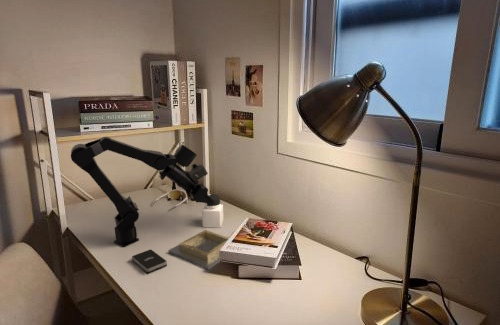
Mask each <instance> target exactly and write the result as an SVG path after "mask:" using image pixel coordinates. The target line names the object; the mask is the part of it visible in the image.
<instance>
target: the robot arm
mask: <svg viewBox="0 0 500 325" xmlns="http://www.w3.org/2000/svg"><path fill="white" fill-rule="evenodd" d="M107 151H109V152H113V153H116V154H118V155H122V156H124V157H128V158H132V159H134V160H137V161H140V162H142V163H144V164H145V165H147V166H148V167H151V168H152V169H155V170H156V171H158V175H159V176H158V177H159V178H160V179H161V181H163V180H164V179H165V178H167V179H169V180H170V181H172V182H173V183H174V184H176V185H177V187H179V188H181V190H183V191H185V192H186V194H190V198H191V199H192V200H193V201H194V202H196V204H197V203H198V204H199V203H203V204H205V203H208V204H213V203H214V201H213V200H212V199H211V198H210V196H209V194H208V192H209V188H208V187H206V186H205V185H204V184H203V183H199V182H200V179H202V178H203V177H206V176H208V171H207V169H206V168H205V166H204V165H203V164H196V163H192V162H193V161H194V160H195V159H196V158H197V157H198V155H197V154H196V153H195V152H194V151H193V150H192V149H190V148H189V147H188V146H186V145H184V144H183V143H182V144H181V145H180V146H179V148H178V149H177V150H176V151H175V153H174V154H172V153H171V154H170V153H163V152H161V151H157V150H150V149H143V148H140V147H138V146H133V145H132V144H131V145H130V144H128V143H125V142H122V141H120V140H116V139H113V138H111V137H109V136H103V137H100V138H98V139H96V140H93V141H90V142H87V143H78V144H75V145H74V146H73V147H72V148H71V151H70V159H71V161H72V162H73V163H74V164H75V165H76V166H77V167H79V168H80V169H81V170H83V172H85V173H87V174H88V175H90V177H91V179H92V180H93V181H94V183H96V185H97V186H98V187H99V188H100V190H102V192H103V193H104V194H105V195H106V196H107V198H108V199H109V200H110V201H111V202H112V204H113V205H114V207H115V208H116V210H117V214H116V215H115V216H114V222H115V227H114V235H115V236H114V237H115V240H113V243H114V244H116V245H117V246H121V247H124V248H125V247H128V246H130V245H131V244H134V243H137V242H138V241H140V238H139V237H138V233H137V232H138V231H137V226H136V222H137V221H138V220H139V216H140V214H139V212H138V211H139V208H138V205H137V203H136V202H134V201H133V199H132V197H131V196H128V197H125V196H124V195H122V193H121V192H120V191H119V190H118V189H117V187H116V185H114V183H113V182H112V181H111V179H110V178H109V177H108V175H106V173H105V172H104V171H103V169H101V167H100V166H99V164H98V162H97V161H96V158H95V157H98V156H99V155H101V154H102V153H104V152H107ZM178 164H179V165H180V166H181V167H180V166H179V165H178ZM189 166H191V169H190V171H187V170H184V169H183V168H187V167H189Z"/></svg>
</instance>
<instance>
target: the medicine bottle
mask: <svg viewBox="0 0 500 325" xmlns="http://www.w3.org/2000/svg"><path fill="white" fill-rule="evenodd" d="M208 195H209V196H210V198H211V199H212V200H213V201H214V203H213V204H208V203H204V207H203V208H202V210H201V216H202V217H201V218H202V227H203V228H218V229H219V228H222V225H223V223H224V204H221V196H220V195H219V194H216V193H209V194H208Z"/></svg>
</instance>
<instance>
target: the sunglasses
mask: <svg viewBox="0 0 500 325" xmlns="http://www.w3.org/2000/svg"><path fill="white" fill-rule="evenodd" d="M165 196H167V197H168V199H169V198H171V199H170V200H172V199H173V200H181V199H182V200H181V201H180V202H179V203H177V204H175V205H174V206H172V207H171V208H169V209H167V210H166V212H170V211H171V210H173V209H175V208H176V207H179V206H180V205H181V204H182V203H184V202H186V204H188V202H189V200H188V199H189V198H188V193H187V192H186V191H185V190H184V189H172V190H168V192H165V193H164V194H162V195H161V196H158V197H157V198H156V199H155V200H154V201H153V202H152V204H151V207H153V206H154V205H155V203H156V202H157V201H158V200H160V199H161V198H162V197H165Z"/></svg>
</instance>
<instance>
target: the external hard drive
mask: <svg viewBox="0 0 500 325" xmlns="http://www.w3.org/2000/svg"><path fill="white" fill-rule="evenodd" d="M131 261H132V263H134V264H135V265H136V266H138V267H139V269H141V270H142V271H143V272H144V273H145V274H147V275H149V274H152V273H155V272H156V271H158V270H161V269H163V268H166V267H167V266H168V264H167V263H168V262H167V259H165V258H164V257H162V256H161V255H160V254H159V253H157V252H156V251H154V250H153V249H152V248H151V249H150V248H149V249H148V250H144V251H142V252H139V253H137V254H133V255H132V256H131Z"/></svg>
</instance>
